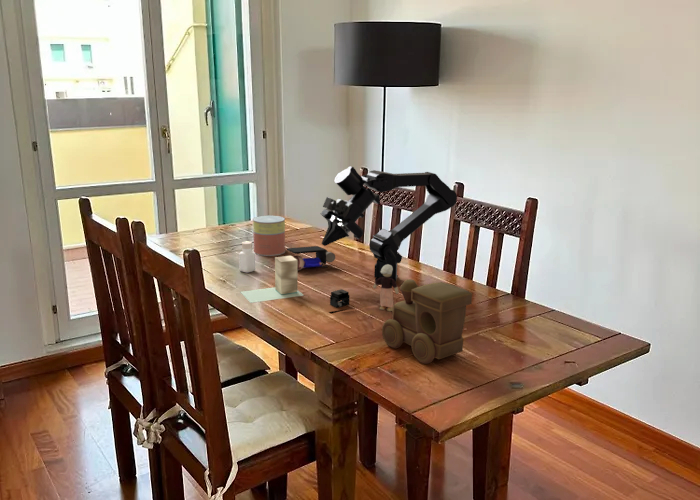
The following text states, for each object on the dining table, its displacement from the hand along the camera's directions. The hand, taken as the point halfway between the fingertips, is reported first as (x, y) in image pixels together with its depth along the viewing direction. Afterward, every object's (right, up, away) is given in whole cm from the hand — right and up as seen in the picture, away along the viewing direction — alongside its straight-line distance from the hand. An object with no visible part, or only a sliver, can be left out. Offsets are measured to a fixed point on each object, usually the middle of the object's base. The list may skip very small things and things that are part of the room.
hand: (322, 244), depth 192 cm
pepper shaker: (-25, -8, +19) cm, 33 cm away
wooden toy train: (+25, -25, -39) cm, 53 cm away
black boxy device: (+5, -18, -11) cm, 22 cm away
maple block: (-11, -14, -1) cm, 17 cm away
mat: (-15, -15, -3) cm, 21 cm away
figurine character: (-5, -8, +23) cm, 25 cm away
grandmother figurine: (+18, -18, -12) cm, 28 cm away
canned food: (-21, -2, +42) cm, 47 cm away
